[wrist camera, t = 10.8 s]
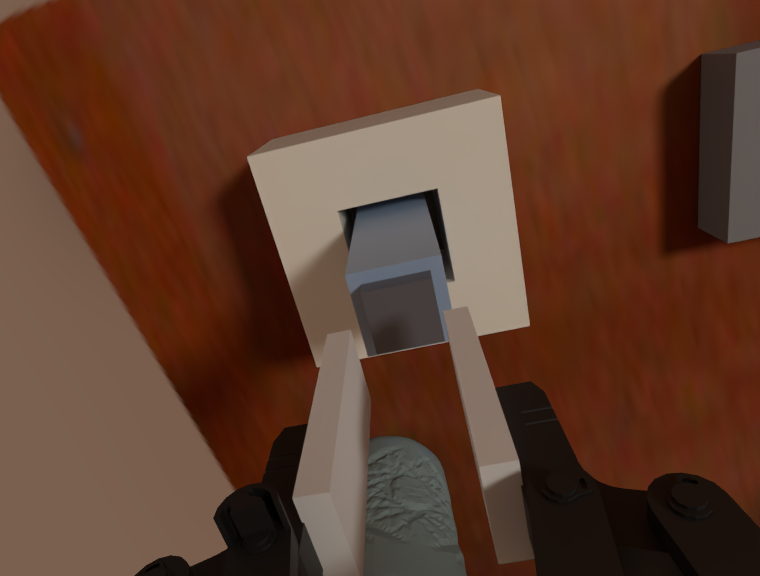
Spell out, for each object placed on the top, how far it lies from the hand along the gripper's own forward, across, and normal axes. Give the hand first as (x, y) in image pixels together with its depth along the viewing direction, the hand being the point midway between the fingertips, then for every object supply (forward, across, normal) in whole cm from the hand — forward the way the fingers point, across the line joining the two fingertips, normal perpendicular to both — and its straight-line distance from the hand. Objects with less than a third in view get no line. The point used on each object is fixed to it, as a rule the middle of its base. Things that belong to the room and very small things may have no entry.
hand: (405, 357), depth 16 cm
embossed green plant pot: (+17, +5, +21) cm, 27 cm away
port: (+17, 0, 0) cm, 17 cm away
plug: (+15, 0, 0) cm, 15 cm away
